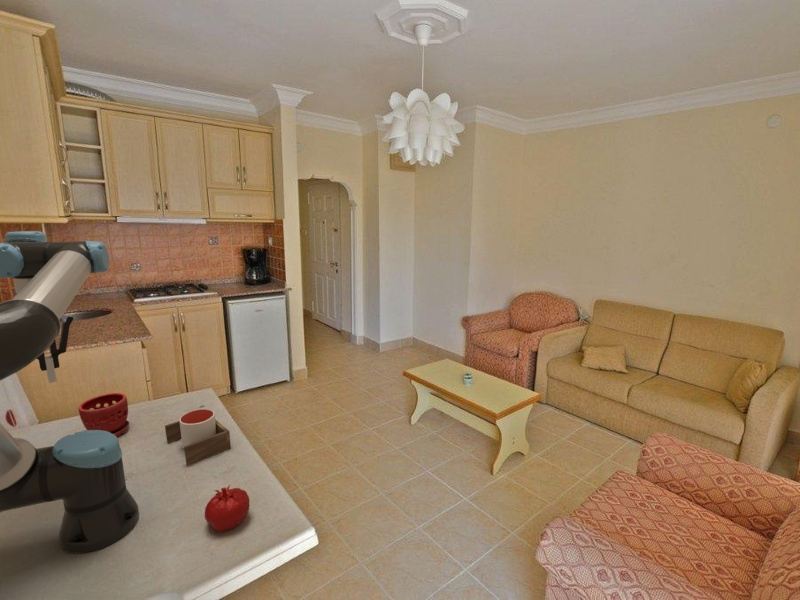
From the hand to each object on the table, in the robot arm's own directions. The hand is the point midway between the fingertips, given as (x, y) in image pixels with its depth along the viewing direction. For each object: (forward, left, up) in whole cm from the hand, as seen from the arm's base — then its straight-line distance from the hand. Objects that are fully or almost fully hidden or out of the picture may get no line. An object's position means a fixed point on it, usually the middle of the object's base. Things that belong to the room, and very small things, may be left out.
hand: (52, 380), depth 108 cm
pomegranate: (-47, -24, -30) cm, 61 cm away
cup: (-8, -32, -30) cm, 44 cm away
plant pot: (+21, -13, -30) cm, 39 cm away
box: (-8, -32, -29) cm, 44 cm away
